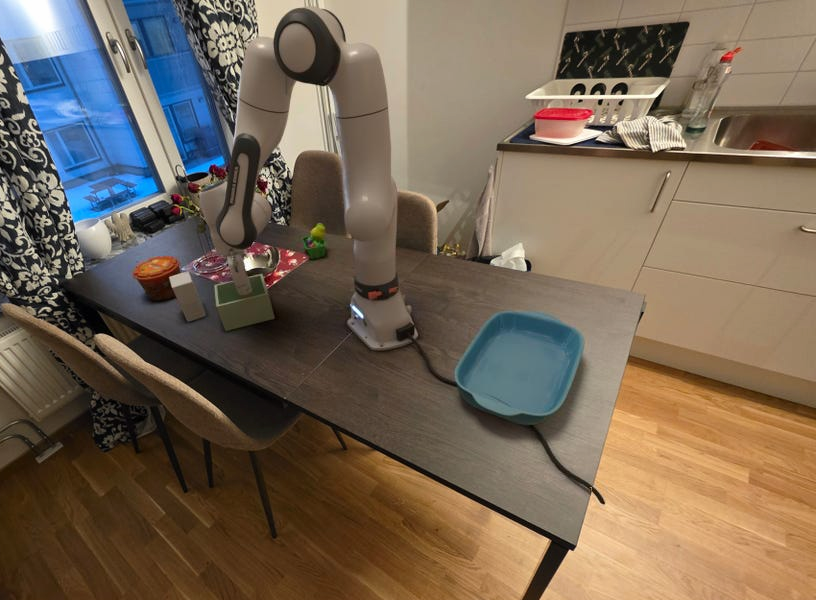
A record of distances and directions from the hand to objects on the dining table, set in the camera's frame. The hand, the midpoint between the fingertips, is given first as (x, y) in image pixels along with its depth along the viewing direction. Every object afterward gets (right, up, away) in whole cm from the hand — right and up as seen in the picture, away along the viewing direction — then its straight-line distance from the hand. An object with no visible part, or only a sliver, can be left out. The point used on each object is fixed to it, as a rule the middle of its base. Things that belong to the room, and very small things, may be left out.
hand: (243, 285), depth 118 cm
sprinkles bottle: (+1, -4, +4) cm, 6 cm away
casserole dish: (+71, -27, -27) cm, 81 cm away
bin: (0, -8, +6) cm, 10 cm away
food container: (-34, +2, +24) cm, 41 cm away
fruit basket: (+21, +19, +34) cm, 44 cm away
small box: (-18, -8, +10) cm, 22 cm away
